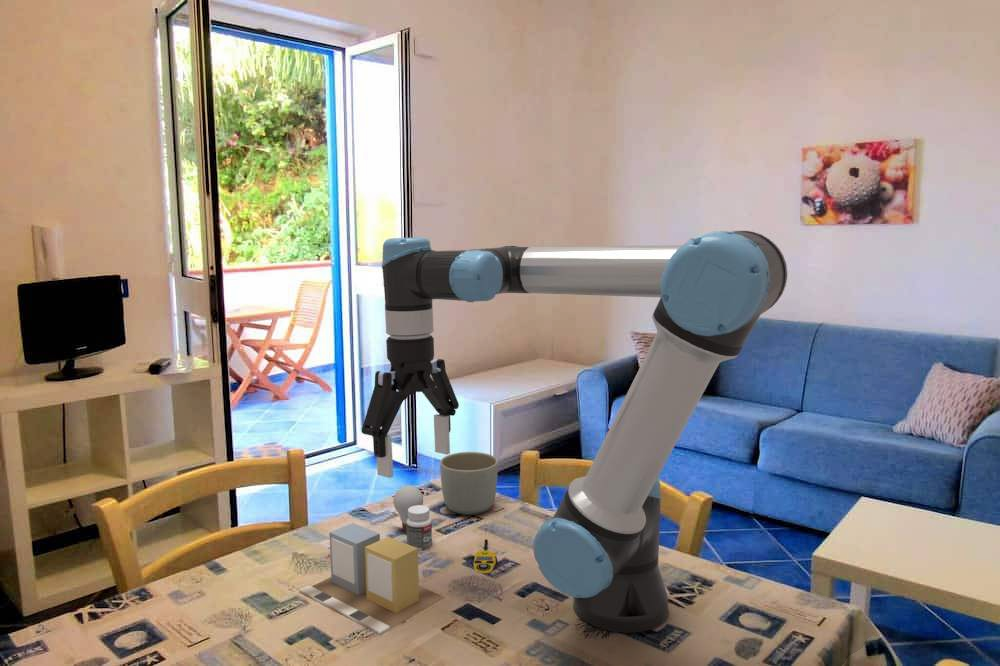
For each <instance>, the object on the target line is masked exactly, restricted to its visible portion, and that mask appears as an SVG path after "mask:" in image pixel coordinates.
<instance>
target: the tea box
mask: <svg viewBox="0 0 1000 666" xmlns="http://www.w3.org/2000/svg"><path fill="white" fill-rule="evenodd" d="M365 564H366V593H367V599H368V600H370V601H372V602H374V603H376V604H378V605H380V606H382V607H384V608H386V609H389V610H391V611H393V612H395V613H398V612H400V611H401V610H403V609H405V608H407V607H408V606H410V605H412V604H414V603H415V602H417V601H419V586H420V584H419V582H420V581H419V579H420V578H419V551H418V548H416V547H413V546H411V545H408V544H407V543H405V542H402V541H400V540H398V539H395V538H392V537H390V536H386V537H384V538H382V539H380V540H379V541H377V542H375V543H373V544H371V545H369V546H366V547H365Z"/></svg>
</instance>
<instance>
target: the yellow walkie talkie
mask: <svg viewBox="0 0 1000 666" xmlns="http://www.w3.org/2000/svg"><path fill="white" fill-rule="evenodd" d="M488 541H489V540H488V539H485V540H484V547H483V550H478V551H476V553H474V555H473V556H472V558H471V564H470V565H471V567H472V568H473V569H474V571H475V573H478V574H489V573H492V572H493V570H494V568H495V567H496V566H498V565H499V564H498V557H497V556H496V554H495V553H494V551H492V550H488V544H489V543H488Z"/></svg>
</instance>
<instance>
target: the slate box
mask: <svg viewBox="0 0 1000 666" xmlns="http://www.w3.org/2000/svg"><path fill="white" fill-rule="evenodd" d="M328 534H329V554H330V577H331V580H332V583H335V584H337V585H339V586H341V587H343V588H345V589H347V590H349V591H351V592H353V593H355V594H357V595H360V594H362V593H364V592H366V564H365V547H366V546H369V545H371V544H373V543H375V542H377V541H379V540H381V534H380V533H379V532H376V531H374V530H372V529H369V528H367V527H364V526H362V525H359V524H356V523H354V522H351V523H348V524H346V525H343V526H342V527H341V526H340V527H339V528H336V529H334V530H332V531H329V533H328Z"/></svg>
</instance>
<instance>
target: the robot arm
mask: <svg viewBox="0 0 1000 666" xmlns="http://www.w3.org/2000/svg"><path fill="white" fill-rule="evenodd" d="M382 244H383V245H382V263H381V269H382V278H383V280H382V281H383V290H384V291H383V293H384V313H385V314H384V316H385V333H386V334H387V335H388V337H386V341H385V342H386V359H387V360H388V361H389V363H390V369H389V371H379V370H377V371H376V372H375V374H374V388H373V391H372V394H371V397H370V400H369V404H368V407H367V410H366V415H365V417H364V421H363V424H362V428H361V433H362V434H363V435H368V436H371V437H372V440H373V441H372V443H373V444H372V445H373V454H374V457H376V470H377V471H376V472H377V473H376V474H377V476H380V477H384V478H388V479H391V478H393V477H394V466H393V465H394V463H393V441H392V435H388V434H389V432H390V429H391V428H392V425H393V423H394V421H395V419H396V417H397V415H398V412H399V411H400V408H401V406H402V404H403V402H404V401H405V400H407V398H409V396H411V395H414V394H416V393H422V394H423V395H424V397H425V398H426V399H427V400H428V402H429V404H430V405H431V406H432V407H433V409H435V411H436V413H437V414H433V429H434V434H433V435H434V453H436V454H437V453H438V454H442V455H445V456H448V455H450V454H451V445H450V433H451V416H452V417H454V416H455V415H456V410H457V409H458V408H459V407H460V406H459V405H460V404H459V402H458V399H457V396H456V393H455V391H454V389H453V387H452V384H451V381H450V378H449V377H448V374H447V370H446V363H445V360H444V359H443V358H442V359H441V358H435V341H434V340H435V338H434V337H433V336H432V333H433V332H434V313H433V311H434V310H433V300H443V301H444V300H445V301H459V302H460V301H461V302H467V303H475V302H488V301H492V300H493V299H495V297H496V295H499V294H500V295H501V294H543V295H544V294H545V295H546V294H547V295H574V296H575V295H576V296H577V295H578V296H602V297H603V296H605V297H606V296H607V297H633V298H634V297H637V298H660V299H659V301H658V302H657V304H656V307H655V309H654V311H653V313H652V316H651V317H652V321H653V323H654V326H655V329H656V334H655V336H654V338H653V340H652V342H651V344H650V347H649V348H648V350H647V352H646V354H645V357H644V359H643V360H642V363H641V364H640V367H639V369H638V371H637V373H636V375H634V376H635V377H634V379H633V381H632V383H631V384H630V387H629V389H628V390H627V393H626V395H625V397H624V398H623V401H622V402H621V405H620V407H619V410H618V411H617V413H616V415H615V417H614V419H613V421H612V423H611V425H610V427H609V429H608V431H607V433H606V435H605V438H604V440H603V441H602V443H601V446H600V447H599V449H598V451H597V454H596V455H595V457H594V460H593V461H592V463H591V466H590V468H589V469H588V471H587V472H586V475H585V476H580V477H576V478H574V479H573V480H572V481H571V482H570V484H569V485H568V487H567V490H566V492H565V493H564V495H563V497H562V499H561V502H560V504H559V505H558V508H557V509H556V512H555V513H554V515H553V516H552V517H551V518H550V519H547V520H546V521H545V522H543V524H542V525H541V526H540V528H539V529H538V530H537V532H536V534H535V536H534V537H535V538H534V541H533V556H534V559H535V561H536V563H537V565H538V569H539V571H540V572H541V575H542V576H543V577H544V578H545V580H546V581H547V583H549V584H550V585H551V586H552V587H553V588H554V589H556V590H557V591H558V592H560V593H562V594H564V595H566V596H568V597H572V598H573V609H574V611H575V613H576V614H577V615H578V617H580V619H581V620H582V621H584V622H585V623H587V624H589V625H591V626H593V627H595V628H598V629H601V630H604V631H608V632H615V633H623V634H625V633H626V634H627V633H634V634H635V633H641V632H646V631H650V630H653V629H655V628H657V627H659V626H661V625H662V624H663V623H664V622H665V621H666V619H667V617H668V615H669V596H668V593H667V590H666V587H665V584H664V579H663V576H662V573H661V569H660V566H659V553H660V528H661V527H660V526H661V500H663V498H662V497H663V496H662V494H661V481H660V480H659V478H658V477H659V476H660V474H661V472H662V471H663V469H664V467H665V465H666V464H667V461H668V459H669V458H670V456H671V454H672V451H673V450H674V449H675V446H676V444H678V441H679V439H680V437H681V435H682V433H683V431H684V430H685V428H686V426H687V424H688V422H689V420H690V419H691V417H692V415H693V413H694V411H695V409H696V407H697V406H698V404H699V401H700V400H701V398H702V396H703V394H704V392H705V391H706V389H707V387H708V385H709V383H710V381H711V379H713V378H712V377H713V376H714V373H716V370H717V368H718V367H719V365H720V363H722V362H725V361H730V360H732V359H735V358H737V357H738V356H739V354H740V352H741V350H742V349H743V347H744V346H745V344H746V342H747V340H748V338H749V336H750V334H751V333H752V330H753V328H754V327H755V326H756V324H757V322H758V320H759V319H760V317H761V315H762V314H764V313H766V312H767V311H769V310H770V309H771V308H773V307H774V305H775V304H777V302H779V300H780V298H781V297H782V295H783V293H784V291H785V288H786V287H787V281H788V267H787V262H786V259H785V257H784V254H783V253H782V250H780V248H779V247H778V246H777V244H775V243H774V241H772V239H770V238H768V237H766V236H764V235H763V234H761V233H758V232H755V231H751V230H734V231H728V230H727V231H726V230H721V231H720V230H719V231H716V230H715V231H710V232H709V231H708V232H706V233H703V234H699V235H697V236H695V237H692V238H689V239H688V240H687V241H686V242H685V243H684V244H682V245H681V244H680V245H678V244H677V245H676V244H675V245H674V244H671V245H669V244H667V245H601V246H600V245H594V246H593V245H590V246H589V245H584V246H583V245H581V246H579V245H578V246H576V245H575V246H574V245H573V246H572V245H571V246H566V245H565V246H564V245H563V246H529V247H528V246H518V245H505V246H501V247H500V246H499V247H491V248H475V249H474V248H473V249H463V250H462V249H461V250H460V249H458V250H433V249H432V247H431V241H430V240H429V239H428V237H395V238H394V237H393V238H387V239H386V240H385V241H384V242H383V243H382Z"/></svg>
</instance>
